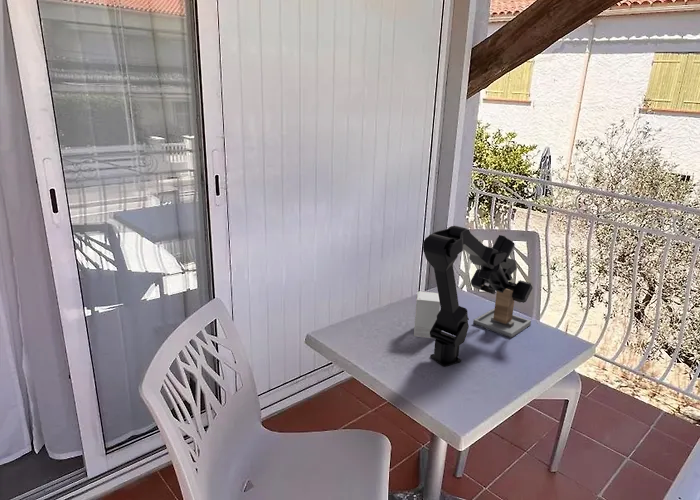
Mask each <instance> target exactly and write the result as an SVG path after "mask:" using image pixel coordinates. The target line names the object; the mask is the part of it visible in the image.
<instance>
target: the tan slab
mask: <svg viewBox="0 0 700 500" xmlns="http://www.w3.org/2000/svg"><path fill="white" fill-rule="evenodd" d="M512 293H513V291H512V290H509V289H505V290H504V291H503V293H501V292H498V291H496V293H495V301H494V302H495V304H494V308H495V310H494V316H493V317H491V321H493V322H496V323H499V324H502V325H504V326H507V327H512V326H513V325H514V322H513V321H511V320H512V315H514V314H513V313H514V309H515V308H514V306H515V301H514V300H513V298H512Z"/></svg>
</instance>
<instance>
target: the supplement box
mask: <svg viewBox="0 0 700 500" xmlns="http://www.w3.org/2000/svg"><path fill="white" fill-rule="evenodd" d="M415 302H416V303H415V313H414V314H415V316H414V327H413V329H414V330H413V337H419V338H426V339H434V338H431V337H430V331H431V329H432V327H433V325H434V323H435V321H436V320H437V314H438V313H439V311H440V310H441V307H440V301H439V295H438V292H430V291H429V292H428V291H417V294H416V301H415Z"/></svg>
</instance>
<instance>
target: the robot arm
mask: <svg viewBox="0 0 700 500" xmlns="http://www.w3.org/2000/svg"><path fill="white" fill-rule="evenodd" d="M515 246H516V243H515V242H513V241H512V240H511V239H509V238H507V237H506V236H505V235H501V234H499V235H498V236H497V238H496V239H495V241H494V243H493V245H492V246H487V245H484V243H482V242H481V241H480V240H479V239H478V238H477V237H476V236H474V235H473V233H472V232H471V230H470V229H468V228H466V227H463V226H458V225H451V226H450V227H447V228H445V229H441V230H437V231H434V232H432V233H431V234H429V235H428V236H427V237H425V238H424V239H423V243H422V250H423V253H424V257H425V259H426V261H427V262H428V263H429V264H430V266H431V267H432V268H433V270H434V271H433V272H434V277H435V282H436V288H437V289H436V290H437V293H438V295H439V301H440V311H439V313H438V314H437V320H436V321H435V323H434V325H433V327H432V329H431V331H430V337H431V338H430V339H433V338H434V339H435V340H434V348H433V349H434V350H433V353H432V354H430V358H431V359H432V360H434V361H435V362H437V363H438V364H439V365H441V366H442V367H448V366H451V365H455V364H458V363H461V362H462V359H461V358H459V354H460V347H461V345H462V344H464V343H465V341H466V338H467V334H468V331H469V328H470V327H469V326H470V325H469V316H468V309H467V308H466V307H464V306H461V305H459V299H458V298H459V297H458V291H457V284H456V277H455V271H454V263H455V261H456V260H457V258H458V257H459V255H460V254H461V253H462V252H463V251H465V252H466V253H467V254H468V255H469V256H468V259H469V260H470V262H471V263H472V264H473V265H475V266H476V265H477V266H480V268H478V269H476V270H475V272H474V274H473V276H472V277H471V279H470V284H471V286H472V287H473V288H475V289H477V290H480V291H483V292H486V293H489V294H491V295H496V293H497V291H498V292H501V293H503V291H504V290H505V289H509V290H512V291H513V293H512V298H513V300H514V302H517V303H519V304H520V303H523V304H524V303H527V300H528V298H529V297H530V295H531V292H532V291H533V289H534V288H533V285H532V284H531V282H528V281H525V280H521V279H520V280H518V281H517V282H516V283H515V282H511V280H512V279H513V276H512V274H513V273H514V272H515V271H516V270H517V261H516V259H513V258H511V257H510V255H511V253H512V252H513V249H514V248H515Z"/></svg>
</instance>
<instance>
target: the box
mask: <svg viewBox="0 0 700 500" xmlns="http://www.w3.org/2000/svg"><path fill="white" fill-rule="evenodd" d="M494 310H495V307H494V308H492V309H490V310H488V311H487V312H485V313H483V314H481V315H480V316H477V317H476V318H474V319H473V323H472V324H473V325H475V326H477V327H481V328H483V329H486V330H488V331H492V332H494V333H496V334H499V335H502V336H503V337H504V336H505V337H507V338H510V339H512V338H514V337H515V336H517V335H518V334H520V333H521V332H522V331H524V330H525V329H527V328H528V327H530V326H531V324H532V320H530V319H527V318H524V317H521V316H519V315H516V314H513V315H512V320H511V321H513V322H514V325H513V326H512V327H507V326H504V325H502V324H499V323H496V322H493V321H491V317H493V316H494Z"/></svg>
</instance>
